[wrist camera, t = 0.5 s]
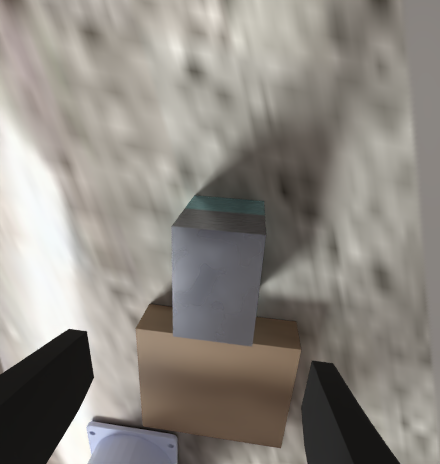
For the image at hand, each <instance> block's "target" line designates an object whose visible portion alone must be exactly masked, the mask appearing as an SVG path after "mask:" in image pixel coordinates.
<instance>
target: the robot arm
mask: <svg viewBox="0 0 440 464" xmlns="http://www.w3.org/2000/svg"><path fill="white" fill-rule="evenodd" d="M93 378H94V374H93V368H92V362H91V355H90V349H89V342H88V336H87V331H80V330H73V329H68V330H67V331H65V332H64V333H62V334H61V335H59V336H57V337H56V338H54V339H53V340H51V341H50V342H48V343H47V344H46V345H44V346H43V347H41V348H40V349H38V350H37V351H35V352H34V353H32V354H31V355H29V356H28V357H26V358H25V359H23V360H22V361H20V362H19V363H17V364H16V365H14V366H13V367H11V368H10V369H8V370H7V371H5V372H4V373H2V374H1V375H0V464H46V463H47V462H48V460H49V458H50V457H51V455H52V454H53V452H54V450H55V449H56V447H57V445H58V444H59V442H60V440H61V439H62V437H63V436H64V434H65V432H66V431H67V429H68V427H69V426H70V424H71V422H72V421H73V419H74V417H75V416H76V414H77V412H78V410H79V408H80V406H81V404H82V402H83V400H84V398H85V396H86V394H87V392H88V389H89V387H90V385H91V383H92V381H93ZM301 409H302V423H303V435H304V446H305V452H306V457H307V463H308V464H400V463H399V461H398V460H397V459H396V457H395V456H394V454H393V453H392V452H391V450H390V449H389V447H388V446H387V445H386V443H385V442H384V440H383V439H382V437H381V436H380V435H379V433H378V432H377V430H376V429H375V427H374V426H373V424H372V423H371V422H370V420H369V419H368V417H367V416H366V414H365V413H364V411H363V410H362V408H361V407H360V405H359V403H358V402H357V400H356V399H355V397H354V396H353V394H352V393H351V391H350V389H349V388H348V386H347V385H346V383H345V381H344V380H343V378H342V377H341V375H340V373H339V372H338V370H337V368H336V367H335V366H334V364H333V363H326V362H318V361H312V363H311V367H310V372H309V376H308V381H307V385H306V389H305V394H304V398H303V402H302V407H301ZM87 433H88V438H89V444H90V449H91V454H92V456H91V458H90V460H89V462H88V464H178V439H177V437H176V436H175V435H173V434H168V433H162V432H156V431H150V430H143V429H137V428H131V427H125V426H118V425H112V424H106V423H100V422H89V423H88V425H87Z"/></svg>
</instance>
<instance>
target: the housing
mask: <svg viewBox="0 0 440 464" xmlns="http://www.w3.org/2000/svg"><path fill="white" fill-rule="evenodd" d="M265 239H266V227H265V210H264V201H254V200H243V199H231V198H219V197H207V196H195V195H194V197H193V198H192V199H191V201H190V202H189V204H188V205H187V206H186V208H185V209H184V210H183V212H182V213H181V214H180V216H179V217H178V218H177V220H176V221H175V222H174V224H173V225H172V299H173V337H181V338H189V339H196V340H204V341H212V342H220V343H227V344H235V345H243V346H251V347H252V345H253V337H254V329H255V321H256V312H257V304H258V296H259V288H260V280H261V272H262V264H263V256H264V248H265Z"/></svg>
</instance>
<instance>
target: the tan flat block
mask: <svg viewBox="0 0 440 464" xmlns="http://www.w3.org/2000/svg"><path fill="white" fill-rule="evenodd" d="M136 340H137V353H138V367H139V381H140V394H141V408H142V422H143V426H145V427H151V428H157V429H163V430H170V431H176V432H182V433H189V434H195V435H201V436H207V437H214V438H220V439H226V440H233V441H239V442H245V443H251V444H258V445H264V446H270V447H277V448H281V445H282V440H283V435H284V431H285V426H286V421H287V416H288V411H289V407H290V402H291V397H292V392H293V387H294V383H295V378H296V373H297V368H298V363H299V358H300V354H301V346H300V340H299V334H298V329H297V323H296V322H295V321H286V320H278V319H270V318H261V317H256V321H255V329H254V337H253V345H252V347H251V346H243V345H235V344H227V343H220V342H212V341H204V340H196V339H189V338H181V337H173V307H170V306H162V305H153V304H149V306H148V308H147V309H146V311H145V313H144V315H143V316H142V318H141V320H140V322H139V324H138V325H137V327H136Z"/></svg>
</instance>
